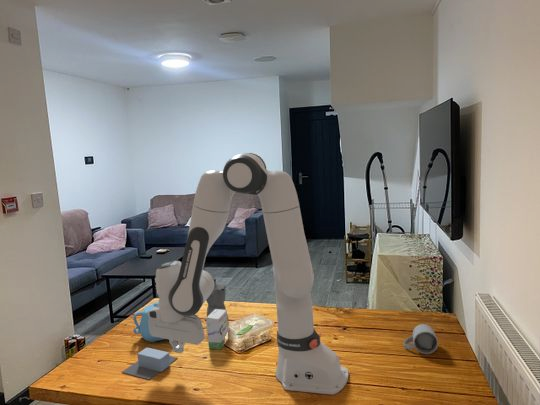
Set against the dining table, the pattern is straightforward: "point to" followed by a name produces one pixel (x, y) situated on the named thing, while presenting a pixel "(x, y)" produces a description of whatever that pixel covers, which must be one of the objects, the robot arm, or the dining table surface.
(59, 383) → the dining table surface
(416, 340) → the ceramic mug
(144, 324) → the decorative pot
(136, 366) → the mat
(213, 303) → the coffeepot
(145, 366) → the block
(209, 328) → the ink box
